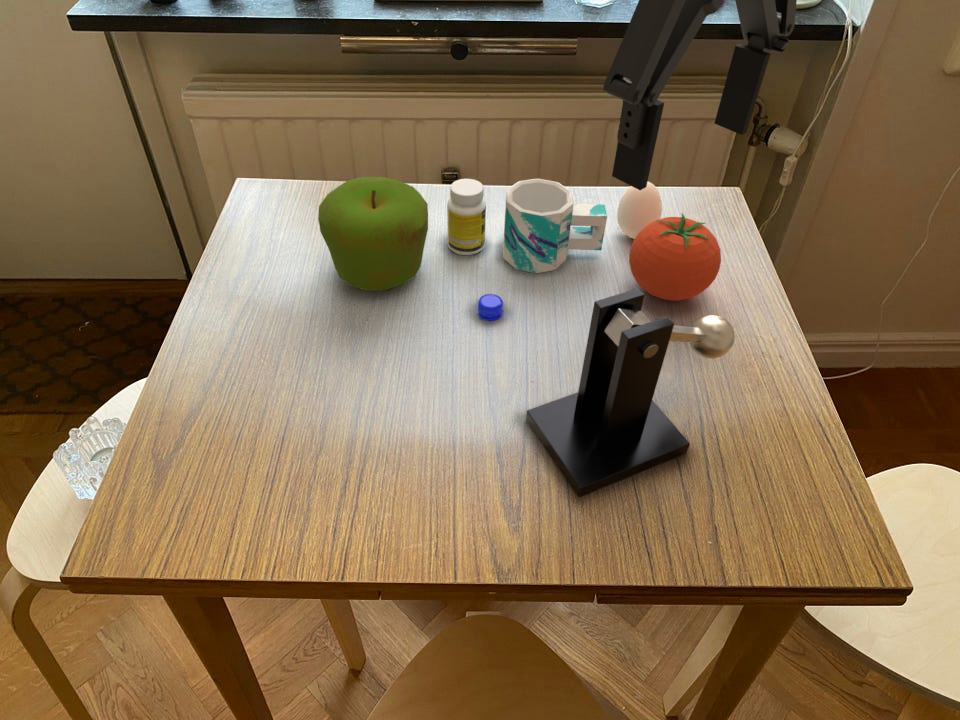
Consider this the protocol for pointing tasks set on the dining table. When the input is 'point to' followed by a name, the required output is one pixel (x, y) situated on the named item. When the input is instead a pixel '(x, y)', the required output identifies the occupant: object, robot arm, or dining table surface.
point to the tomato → (675, 258)
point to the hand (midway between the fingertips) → (682, 153)
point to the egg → (638, 209)
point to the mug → (548, 225)
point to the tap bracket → (612, 405)
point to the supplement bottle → (466, 217)
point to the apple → (374, 231)
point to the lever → (681, 332)
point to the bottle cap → (490, 307)
